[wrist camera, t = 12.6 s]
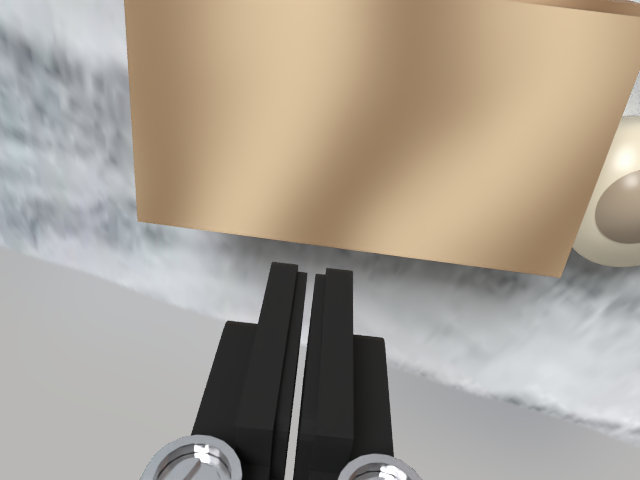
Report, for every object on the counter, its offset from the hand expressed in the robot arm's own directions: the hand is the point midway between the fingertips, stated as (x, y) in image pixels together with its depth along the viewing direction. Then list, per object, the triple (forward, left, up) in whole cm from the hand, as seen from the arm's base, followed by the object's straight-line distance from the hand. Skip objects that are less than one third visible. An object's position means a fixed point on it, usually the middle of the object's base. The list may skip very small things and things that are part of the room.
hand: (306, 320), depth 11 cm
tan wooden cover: (+1, +2, -7) cm, 7 cm away
